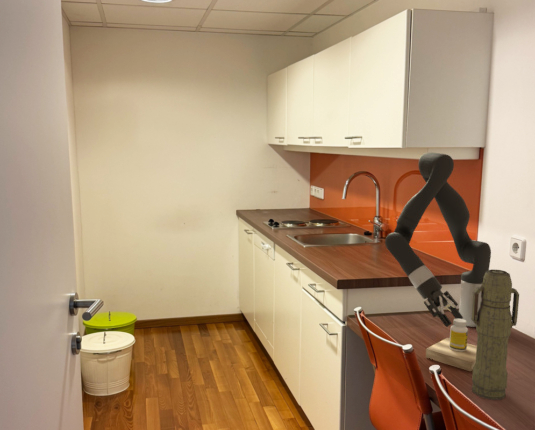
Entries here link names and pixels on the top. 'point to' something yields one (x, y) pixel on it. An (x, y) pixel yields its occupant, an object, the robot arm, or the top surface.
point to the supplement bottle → (458, 335)
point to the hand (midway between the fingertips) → (455, 322)
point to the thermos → (493, 333)
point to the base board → (453, 355)
